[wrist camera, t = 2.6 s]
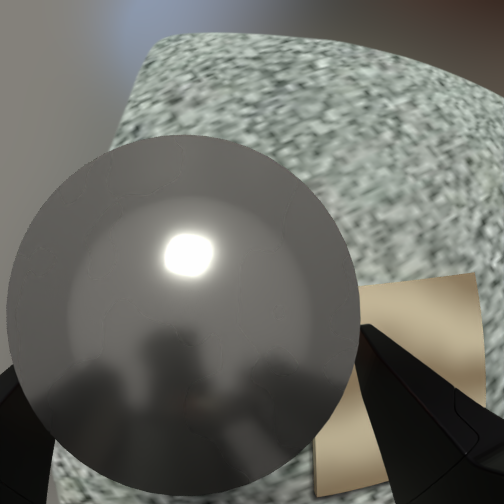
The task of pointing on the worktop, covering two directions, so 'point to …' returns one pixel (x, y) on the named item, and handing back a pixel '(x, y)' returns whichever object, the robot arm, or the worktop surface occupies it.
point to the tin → (183, 315)
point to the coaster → (418, 344)
